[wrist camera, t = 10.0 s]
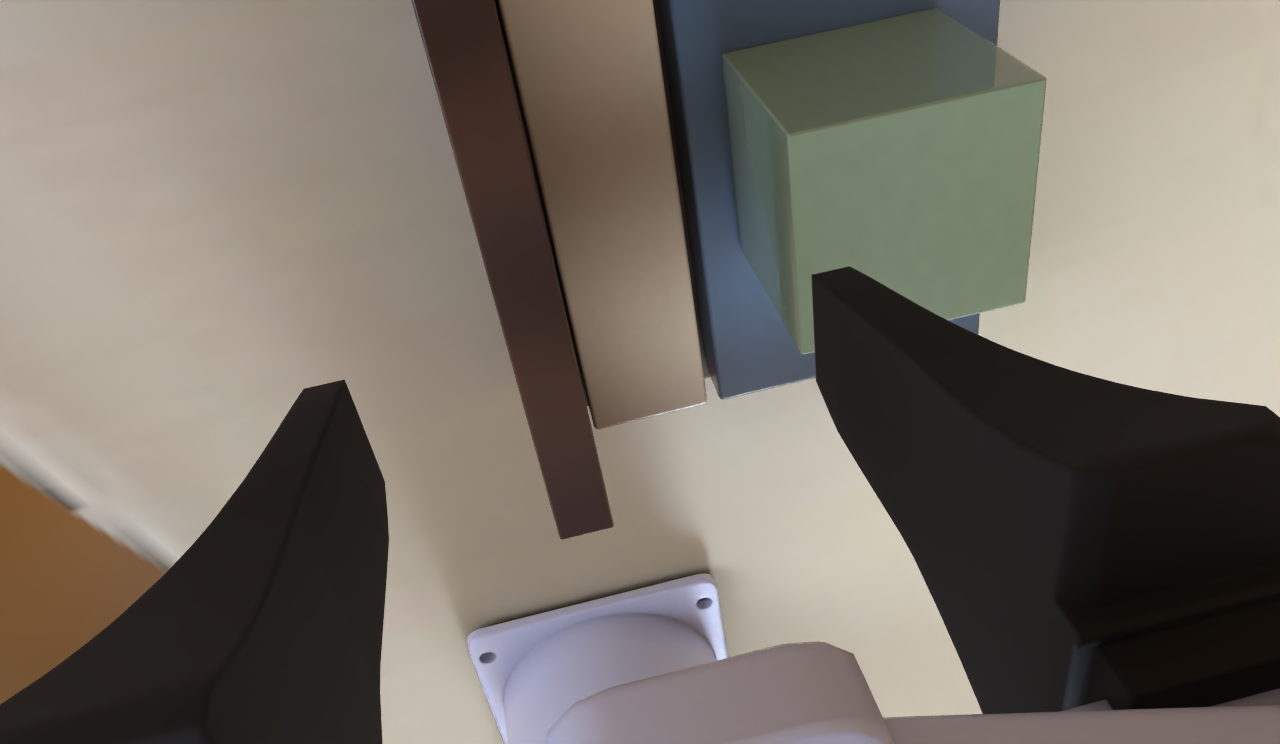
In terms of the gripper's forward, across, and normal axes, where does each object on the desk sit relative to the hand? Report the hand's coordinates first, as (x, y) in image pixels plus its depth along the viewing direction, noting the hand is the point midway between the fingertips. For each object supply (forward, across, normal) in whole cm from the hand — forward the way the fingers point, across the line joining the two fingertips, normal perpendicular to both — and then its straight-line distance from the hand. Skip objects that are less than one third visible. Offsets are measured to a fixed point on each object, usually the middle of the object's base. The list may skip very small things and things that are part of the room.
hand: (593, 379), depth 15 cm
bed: (+9, -4, 0) cm, 10 cm away
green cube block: (+6, -6, 0) cm, 9 cm away
